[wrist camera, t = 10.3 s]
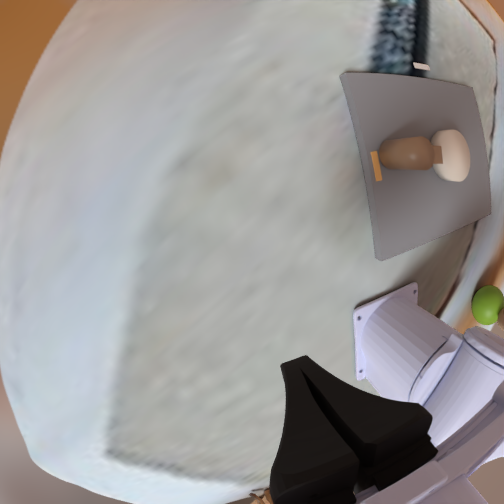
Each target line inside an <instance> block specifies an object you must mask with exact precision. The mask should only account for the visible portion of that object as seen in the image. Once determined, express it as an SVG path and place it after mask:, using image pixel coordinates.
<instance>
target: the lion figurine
mask: <svg viewBox="0 0 504 504" xmlns="http://www.w3.org/2000/svg"><path fill="white" fill-rule="evenodd" d="M249 495H250V496H251V497H254V498H256V499H255V501H256V502H257V503H258V504H265V503H264V502H263V501H262V499H261V498H259V497H258V496H257V495H256V494H253V493H250V494H249ZM264 495H265V496H266V499H267V500H268V501H269V502H270V504H273V502H272V499H271V496H270V490H265V491H264Z"/></svg>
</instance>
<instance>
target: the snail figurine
mask: <svg viewBox="0 0 504 504" xmlns="http://www.w3.org/2000/svg"><path fill="white" fill-rule="evenodd" d="M472 313H473V316H474V318H475V319H476V320H477V321H478V322H479V323H480V324H483V325H490V324H493V323H495V322H496V321H498V325H499V327H500V328H501V329H502V330H503V331H504V296H503V294H502V292H501V291H500V289H498V288H497V287H495V286H493V285H487V286H484V287H482V288H480V289H479V290H478V291H477V292H476V294H475V296H474V298H473V301H472Z"/></svg>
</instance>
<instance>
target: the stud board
mask: <svg viewBox="0 0 504 504" xmlns="http://www.w3.org/2000/svg"><path fill="white" fill-rule="evenodd" d="M413 64H414V67H415V68H418V69H424V70H429V71H430V68H429V65H425V64H420V63H414V62H413ZM340 79H341V82H342V86H343V89H344V92H345V96H346V99H347V103H348V106H349V110H350V114H351V117H352V121H353V125H354V129H355V134H356V138H357V142H358V147H359V151H360V156H361V161H362V166H363V171H364V177H365V182H366V188H367V194H368V201H369V207H370V214H371V222H372V230H373V239H374V249H375V258H376V259H378V260H380V261H384V260H386V259H389V258H391V257H394V256H396V255H399V254H401V253H404V252H406V251H409V250H411V249H414V248H416V247H418V246H421V245H423V244H426V243H428V242H430V241H433V240H435V239H437V238H440V237H442V236H444V235H446V234H449V233H451V232H453V231H455V230H458V229H460V228H462V227H464V226H466V225H469V224H471V223H473V222H475V221H477V220H479V219H481V218H483V217H486V216H488V215H490V214H491V193H490V178H489V168H488V160H487V152H486V145H485V139H484V134H483V128H482V124H481V119H480V114H479V110H478V106H477V102H476V98H475V95H474V91H473V88H472V87H468V86H464V85H459V84H455V83H450V82H445V81H439V80H433V79H427V78H420V77H412V76H403V75H393V74H379V73H351V72H345V73H344V74H342V75H340ZM441 130H457V131H459V132H460V133H461V134H462V135H463V137H464V138H465V140H466V142H467V145H468V148H469V152H470V169H469V173H468V175H467V177H466V178H465V179H464V180H463V181H461V182H456V181H447V180H443V179H441V178H440V177H439V176H438V175H437V174H436V172H435V170H434V168H433V166H432V167H431V168H430V169H429V170H398V169H388V168H386V167H385V166H384V165H383V164H382V162H381V160H380V157H379V149H380V146H381V144H382V143H383V142H384V141H387V140H394V139H402V138H411V137H420V136H423V137H425V138H427V139H428V140H429V141H430V142H431V139H432V137H433V135H434V134H435V133H436V132H437V131H441Z"/></svg>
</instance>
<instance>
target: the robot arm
mask: <svg viewBox="0 0 504 504" xmlns="http://www.w3.org/2000/svg"><path fill="white" fill-rule="evenodd" d="M417 301H418V284H417V283H415V282H413V283H410V284H408V285H406V286H404V287H402V288H400V289H398V290H396V291H394V292H391V293H389V294H387V295H385V296H383V297H380V298H378V299H376V300H374V301H371V302H369V303H367V304H364V305H362V306H360V307H357V308H356V309H355V310H354V312H353V319H354V336H355V359H356V379H357V380H362V379H364V378H367V380H368V381H369V382H370V383H371V384H372V386H373V387H374V388H375V389H376V390H377V392H378V393H379V394H380V395H381V396H382V397H380V396H376V395H373V394H370V393H367V392H365V391H362V390H360V389H358V388H355V387H353V386H351V385H349V384H347V383H346V382H344V381H342V380H340V379H338V378H337V377H335V376H334V375H332V374H331V373H329V372H327V371H326V370H325V369H323V368H322V367H321V366H319V365H318V364H317V363H315V362H314V361H313V360H312V359H310V358H309V357H308V356H306V355H305V356H302V357H299V358H296V359H294V360H291V361H288V362H285V363H282V364H281V366H280V367H281V371H282V375H283V379H284V382H285V390H286V410H285V420H284V427H283V433H282V438H281V441H280V445H279V449H278V452H277V455H276V458H275V461H274V463H273V466H272V468H271V476H270V487H269V489H270V496H271V499H272V502H273V504H488V503H487V502H486V500H485V499H484V498H483V497H482V496H481V495H480V493H479V492H478V491H477V490H476V489H475V488H474V486H473V485H472V484H471V483H470V482H469V480H468V479H467V478H468V477H469V476H470V475H471V474H472V473H474V472H475V471H476V470H477V469H478V468H479V467H480V466H481V465H482V464H484V463H486V462H489V461H491V460H493V459H496V458H498V457H504V339H503V338H501V337H500V336H498V335H496V334H494V333H492V332H490V331H488V330H486V329H484V328H481V327H478V326H475V327H472V328H468V329H467V330H466V331H465V333H464V335H463V334H461V333H460V332H458V331H457V330H455V329H454V328H452V327H451V326H449V325H448V324H446V323H445V322H443V321H441V320H440V319H438V318H437V317H435V316H434V315H432V314H431V313H429V312H428V311H426V310H424V309H423V308H421V307H420V306H418V305H417ZM359 316H360V317H359ZM358 317H359V318H358ZM357 318H358V319H357ZM353 491H354V493H353ZM354 494H355V495H354Z"/></svg>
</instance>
